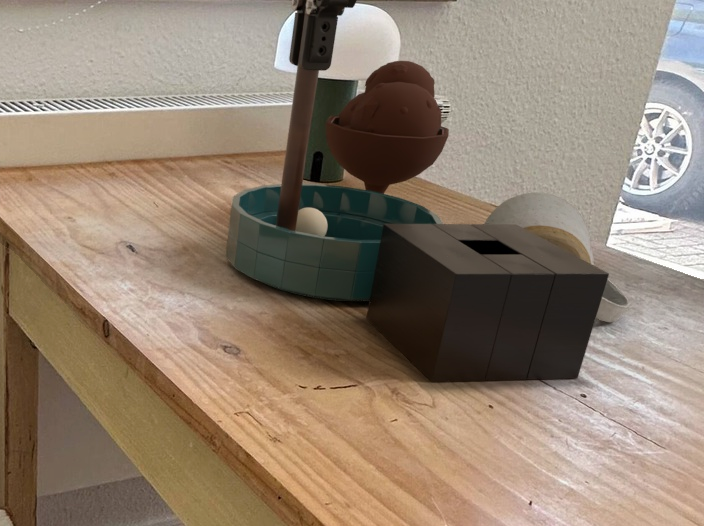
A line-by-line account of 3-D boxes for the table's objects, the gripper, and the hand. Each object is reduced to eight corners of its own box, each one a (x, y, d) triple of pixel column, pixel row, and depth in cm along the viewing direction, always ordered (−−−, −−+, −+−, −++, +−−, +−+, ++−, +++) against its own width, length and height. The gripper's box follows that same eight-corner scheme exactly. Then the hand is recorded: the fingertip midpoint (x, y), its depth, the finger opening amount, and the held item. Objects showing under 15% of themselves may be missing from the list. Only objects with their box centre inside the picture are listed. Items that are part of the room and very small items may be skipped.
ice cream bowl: (301, 206, 88) (323, 51, 82) (412, 213, 88) (443, 58, 82) (320, 239, 79) (348, 66, 73) (445, 246, 79) (483, 73, 72)
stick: (290, 232, 71) (325, -6, 64) (297, 238, 70) (333, -4, 62) (272, 231, 71) (304, -7, 64) (278, 238, 70) (311, -5, 62)
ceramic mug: (471, 312, 64) (497, 210, 61) (469, 276, 71) (493, 184, 68) (632, 341, 61) (669, 236, 58) (613, 301, 68) (645, 205, 65)
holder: (493, 316, 64) (516, 224, 61) (578, 378, 55) (610, 273, 52) (365, 318, 62) (383, 223, 59) (431, 382, 53) (456, 274, 51)
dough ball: (328, 251, 75) (336, 216, 75) (313, 238, 72) (322, 202, 73) (294, 249, 77) (302, 215, 77) (278, 236, 74) (287, 201, 75)
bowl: (377, 238, 80) (387, 184, 78) (468, 306, 65) (484, 242, 63) (204, 238, 78) (209, 182, 75) (259, 308, 63) (268, 242, 61)
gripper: (451, -216, 52) (396, 83, 60) (359, -188, 65) (323, 57, 72) (331, -226, 51) (290, 79, 58) (261, -196, 64) (234, 54, 71)
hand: (308, 66), depth 65 cm, fingers closed on stick, 1 cm apart
